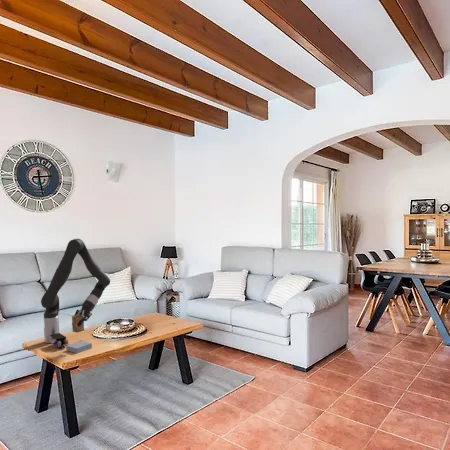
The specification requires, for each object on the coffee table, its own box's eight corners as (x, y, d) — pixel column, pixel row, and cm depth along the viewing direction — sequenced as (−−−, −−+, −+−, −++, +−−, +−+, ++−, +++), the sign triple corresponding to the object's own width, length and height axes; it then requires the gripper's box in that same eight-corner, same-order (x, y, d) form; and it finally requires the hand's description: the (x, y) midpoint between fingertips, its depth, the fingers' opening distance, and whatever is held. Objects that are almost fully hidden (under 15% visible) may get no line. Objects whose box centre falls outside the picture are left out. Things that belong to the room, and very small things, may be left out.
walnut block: (72, 331, 245) (71, 316, 245) (79, 329, 249) (78, 314, 249) (77, 332, 242) (76, 317, 242) (84, 330, 247) (83, 315, 246)
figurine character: (69, 349, 251) (59, 342, 261) (69, 338, 250) (59, 331, 260) (58, 352, 246) (49, 344, 256) (58, 341, 245) (49, 333, 255)
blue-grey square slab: (66, 350, 245) (66, 345, 245) (81, 345, 254) (81, 340, 254) (77, 353, 239) (76, 348, 239) (91, 347, 248) (91, 343, 248)
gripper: (80, 298, 256) (64, 321, 246) (93, 300, 248) (78, 323, 238) (87, 304, 260) (72, 327, 250) (101, 306, 252) (86, 330, 243)
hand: (75, 325), depth 244 cm, fingers closed on walnut block, 5 cm apart
